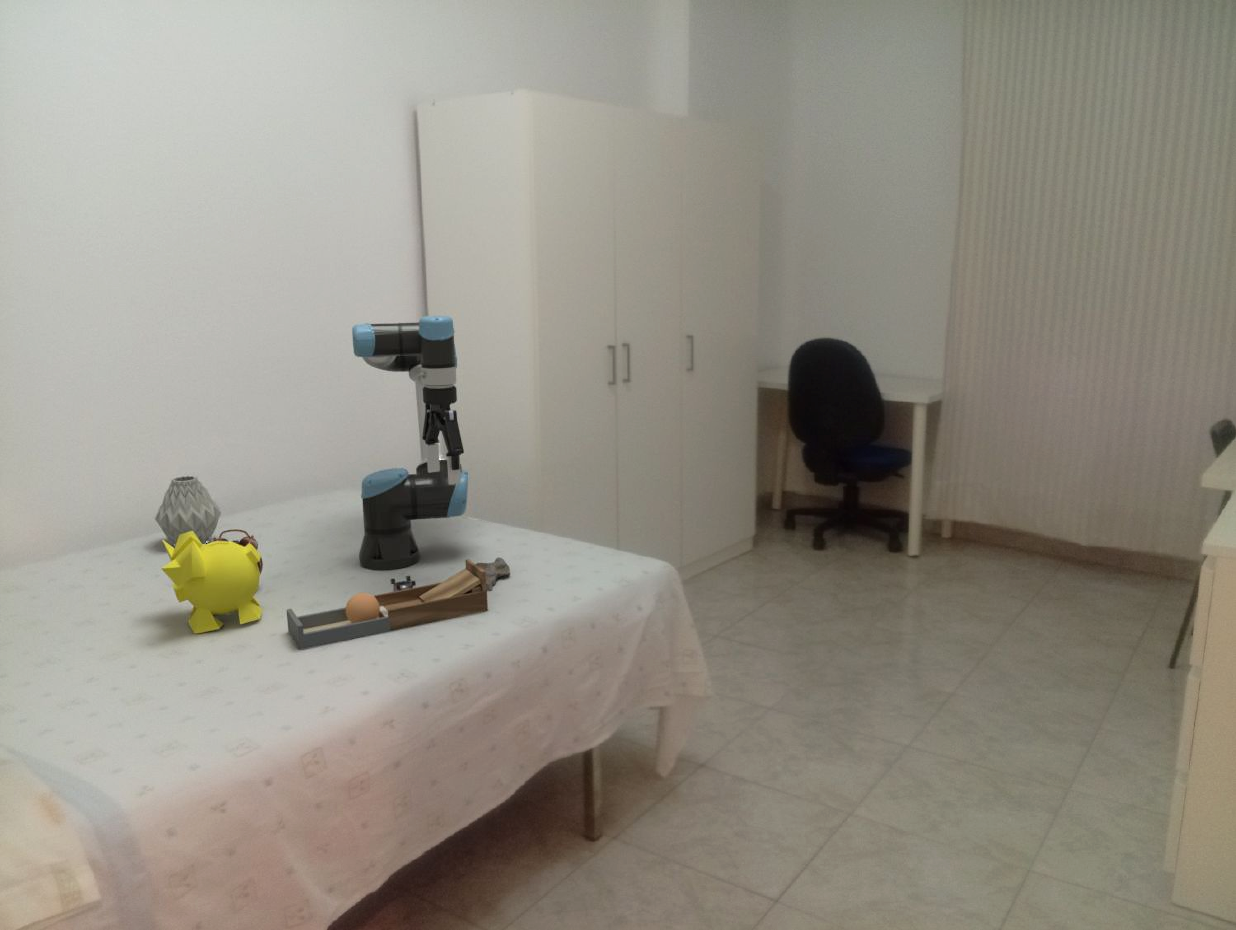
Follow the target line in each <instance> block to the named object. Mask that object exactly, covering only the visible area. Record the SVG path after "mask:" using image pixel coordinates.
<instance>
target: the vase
mask: <svg viewBox="0 0 1236 930" xmlns="http://www.w3.org/2000/svg"><path fill="white" fill-rule="evenodd" d="M170 481H171V483H170V484H169V486H168V489H167V490H166V491H165V492H164V496H163V499H162V504H161V505H160V506H159V507H158V510H157V513H156V514H155V518H154V520H155V521H156V523H157V525H158V526H159V527H160V528H161V531H162V532H163V534H164V535H165V536H166V538H167V539H168V540H169V541H170V542H172V545H174V544H175V545H176V543H177V540H178V537H179V535H180V534H184V533H187V532H190V531H193V532H194V533H195V535H196V536H197V537H198V539H199V540H200V542H201V543H202V544H205V543H206V541H209V542H210V538H211V537H212V536H213V534H214V533H215V531H216V529H217V526H218V523H219V519H220V517H221V514H222V511H221V508H220V507H219V506H218V504H217V502H216V501H215V500H214V499H212V497H211V494H210V492H209V491H208V488H206V487H205V486H204V485H203V484H202V482H201V481H200V480H198V476H194V475H191V476H190V475H187V476H180V477H179V476H178V477H177V476H176V478H172V479H171V480H170Z"/></svg>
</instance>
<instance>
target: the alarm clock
mask: <svg viewBox="0 0 1236 930" xmlns="http://www.w3.org/2000/svg"><path fill="white" fill-rule="evenodd" d="M230 532H238V533H239V532H240V533H244V534H245V535H246V536H244V537H242V538H241V539H239V540H238V539H237V540H231V542H234V543H236V544H239V545H241V546H244V547H245V546H247V545H248V544H249V543H250V544H252V545H253V546H254V548H255V549H256V550H257V551H258V549H259V542H258V541H257V540H256V538H255V536H254V534H251V535H250V534H249V533H248V532H247V531H246V530H244V529H239V528H237V529H228V530H223V531H221V533H220V535H219V537H218V538H217V537H213V542H215V541H229V540H228V539H227V538H224V537H223V538H222V536H223V534H226V533H230ZM257 564H258V568H259V571H260V575H261V574H262V571H263V568H264V567H263V566H264V563H263V558H262V556H261V557H260V561H259V562H257Z"/></svg>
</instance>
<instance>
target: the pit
mask: <svg viewBox="0 0 1236 930" xmlns="http://www.w3.org/2000/svg"><path fill="white" fill-rule="evenodd" d="M285 610H286V619H287V629H288V630H287V631H288V633H289V636H290V637H291V638H292V640H293V641H294V643H295V645H296V646H297V647H298V650H299V651H300V650H301V651H302V650H304V649H305V650H306V649H309V648H315V647H319V646H324V645H330V644H334V643H338V642H339V643H340V642H344V641H349V640H354V639H357V638H362V637H368V636H372V635H376V634H377V635H378V634H381V633H386V632H391V631H390V619H389V617H388V616H387V617H382V618H379V617H377V619H372V620H367V621H362V622H357V623H351V622H350V621H349V619H348V618H347V616H346V606H345V607H340V608H335V609H330V610H326V611H319V612H315V613H314V612H313V613H309V614H304V615H300V616H297V614H296V613H295V612H294V610H293V609H292V608H288V609H285Z"/></svg>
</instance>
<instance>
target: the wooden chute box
mask: <svg viewBox="0 0 1236 930" xmlns="http://www.w3.org/2000/svg"><path fill="white" fill-rule="evenodd" d="M373 596H374V597H375V598H376V599H377V601H378V603H379V606H380V612H379V615H378V617H379V618H382V617H387V616H388V617H389V619H390V631H389V632H392V631H396V630H401V629H406V628H410V627H414V626H419V625H425V624H429V623H430V624H431V623H435V622H439V621H444V620H450V619H453V618H459V617H463V616H464V617H465V616H468V615H473V614H477V613H482V612H488V610H489V609H488V608H489V607H488V591H486V572H485V571H484V570H483V569H482V568H480V567H479V566H477V565H476V563H475V562H473V561H472V560H470V559H469V558H468V559H465V568H464V569H463V570H461V571H459V572H458V573H456V574H454V575H453V576H450V577H449V578H448V579H446V580H444V581H442V582H438V583H432V584H426V585H422V586H416V587H415V586H414V587H413V588H410V589H405V590H400V591H394V590H393V591H389V592H386V593H385V592H384V593H379V594H375V595H373Z"/></svg>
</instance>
